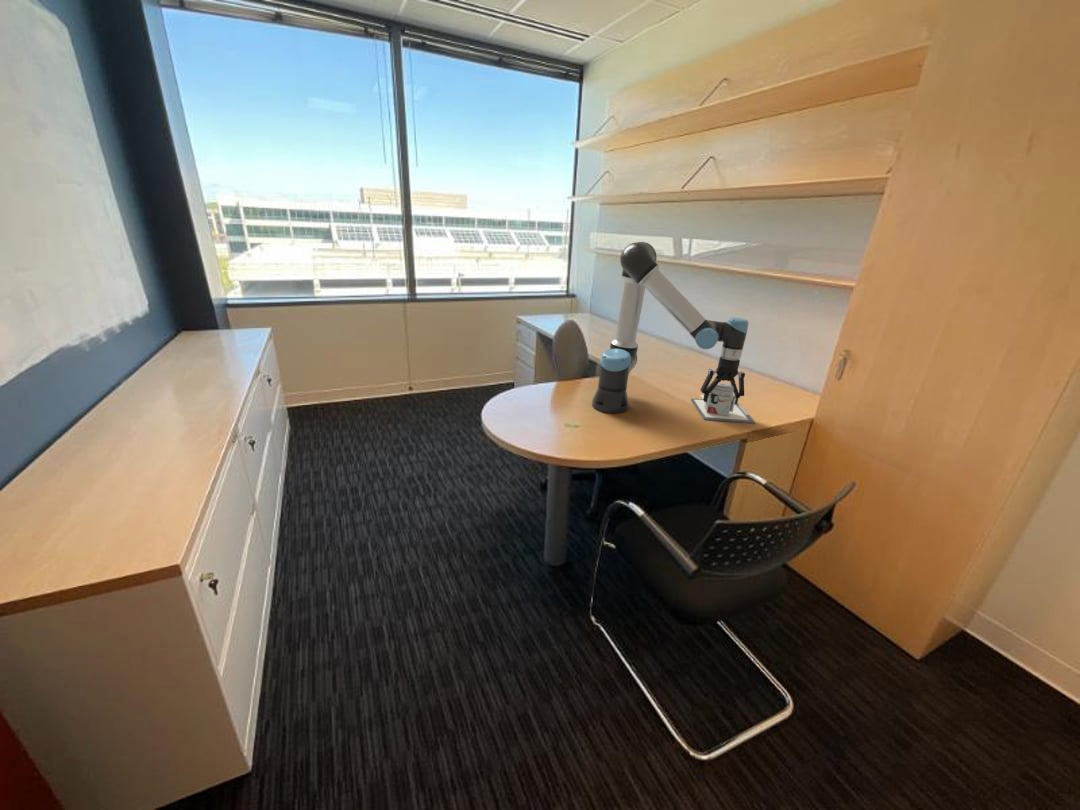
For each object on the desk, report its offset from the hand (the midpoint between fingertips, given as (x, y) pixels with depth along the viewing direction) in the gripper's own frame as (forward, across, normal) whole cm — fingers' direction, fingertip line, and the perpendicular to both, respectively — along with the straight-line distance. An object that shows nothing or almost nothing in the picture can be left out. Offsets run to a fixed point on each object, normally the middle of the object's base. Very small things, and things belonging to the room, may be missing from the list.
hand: (718, 409), depth 182 cm
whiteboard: (+2, +3, +4) cm, 5 cm away
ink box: (+1, 0, 0) cm, 1 cm away
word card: (+2, +3, +19) cm, 19 cm away
